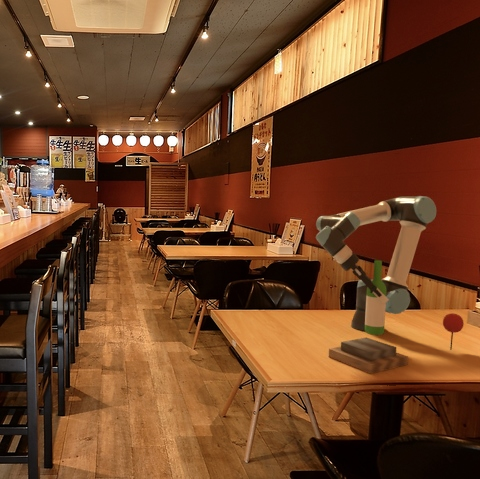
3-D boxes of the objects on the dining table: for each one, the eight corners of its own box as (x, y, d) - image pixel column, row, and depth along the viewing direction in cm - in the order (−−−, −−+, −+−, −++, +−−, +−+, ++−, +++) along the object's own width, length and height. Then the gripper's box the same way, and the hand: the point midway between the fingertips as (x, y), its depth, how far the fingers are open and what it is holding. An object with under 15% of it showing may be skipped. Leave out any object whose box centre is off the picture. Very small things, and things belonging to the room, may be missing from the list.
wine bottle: (373, 336, 186) (378, 262, 184) (360, 331, 193) (364, 259, 191) (388, 334, 190) (392, 261, 187) (374, 329, 196) (378, 259, 194)
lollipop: (460, 353, 185) (463, 316, 184) (439, 350, 189) (442, 313, 188) (462, 349, 192) (464, 313, 191) (441, 345, 195) (444, 310, 194)
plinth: (364, 349, 185) (365, 334, 185) (407, 364, 169) (408, 348, 169) (328, 356, 174) (329, 340, 174) (371, 373, 158) (372, 356, 157)
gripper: (338, 261, 202) (375, 300, 200) (340, 267, 182) (380, 311, 180) (351, 250, 201) (388, 289, 199) (354, 254, 181) (395, 298, 179)
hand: (384, 299), depth 190 cm, fingers closed on wine bottle, 8 cm apart
